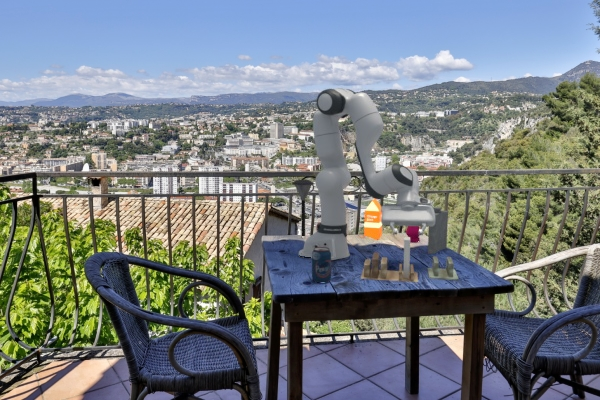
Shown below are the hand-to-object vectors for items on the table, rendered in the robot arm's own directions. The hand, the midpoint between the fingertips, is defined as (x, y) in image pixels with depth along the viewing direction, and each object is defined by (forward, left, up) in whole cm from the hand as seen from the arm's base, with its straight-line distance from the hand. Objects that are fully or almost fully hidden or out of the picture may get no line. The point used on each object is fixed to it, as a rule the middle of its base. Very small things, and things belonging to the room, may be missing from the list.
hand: (407, 234), depth 171 cm
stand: (+13, -2, -16) cm, 20 cm away
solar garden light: (-51, +53, -16) cm, 75 cm away
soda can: (-30, -14, -16) cm, 37 cm away
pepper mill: (+4, +58, -16) cm, 60 cm away
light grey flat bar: (0, -7, -14) cm, 16 cm away
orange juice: (-16, +63, -16) cm, 67 cm away
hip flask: (+14, +41, -16) cm, 46 cm away
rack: (-6, -7, -16) cm, 18 cm away
